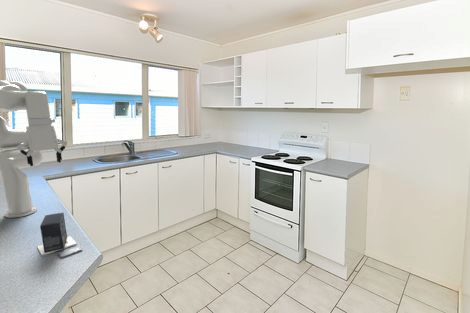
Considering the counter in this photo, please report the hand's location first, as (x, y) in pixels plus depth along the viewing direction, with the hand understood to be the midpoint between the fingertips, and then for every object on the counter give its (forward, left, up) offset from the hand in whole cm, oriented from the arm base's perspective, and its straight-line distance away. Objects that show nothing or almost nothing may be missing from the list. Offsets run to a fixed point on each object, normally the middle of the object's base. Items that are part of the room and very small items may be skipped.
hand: (45, 163), depth 115 cm
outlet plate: (+20, -3, -28) cm, 35 cm away
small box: (+20, -3, -28) cm, 34 cm away
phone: (+29, -1, -29) cm, 41 cm away
